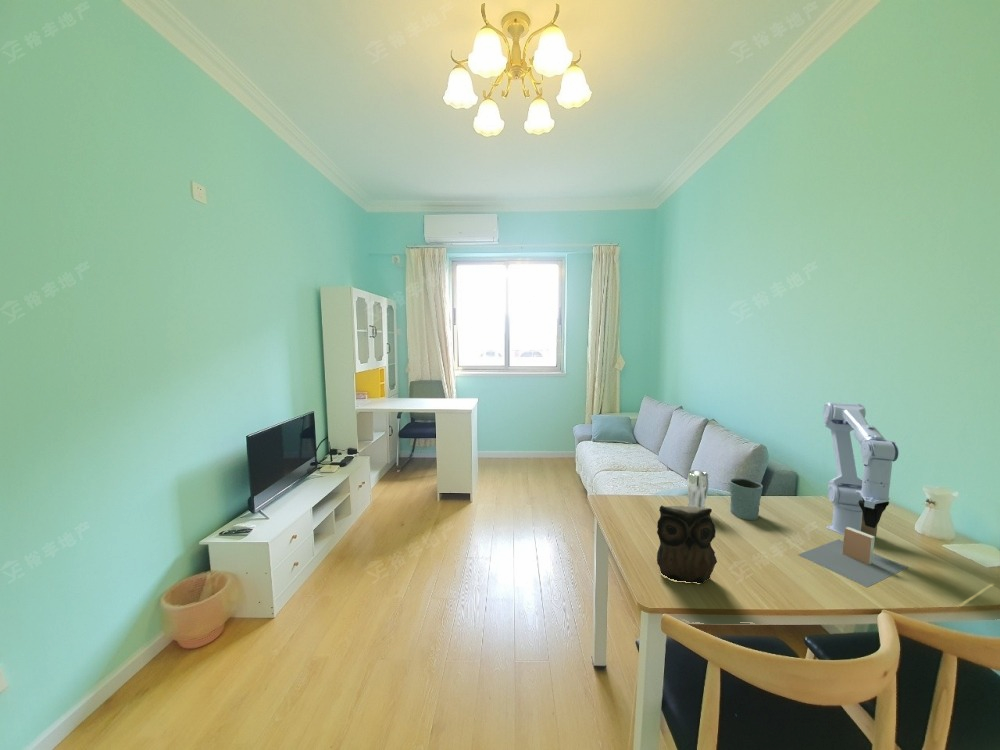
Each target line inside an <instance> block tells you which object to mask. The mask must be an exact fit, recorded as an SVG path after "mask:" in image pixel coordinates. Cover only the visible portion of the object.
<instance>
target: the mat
mask: <svg viewBox="0 0 1000 750" xmlns="http://www.w3.org/2000/svg"><path fill="white" fill-rule="evenodd" d="M843 543H844V540H843V539H842V540H841V539H839V538H838V539H837V540H832V541H829V542H828V543H824V544H823V545H820V546H817V547H815V548H812V549H809V550H807V551H806V550H805V551H804V552H801V553H798V554H797V556H799V557H801V558H804V559H806V560H808V561H810V562H812V563H814V564H816V565H818V566H821V567H823V568H825V569H826V570H829V571H830V572H831V571H832V572H834V573H835V574H838V575H840V576H842V577H845V578H846V579H848V580H850V581H853V582H855V583H857V584H859V585H861V586H862V587H865V588H869V587H871V586H873V585H875V584H877V583H879V582H881V581H883V580H886V579H888V578H889V577H892V576H893V575H895V574H898V573H901V572H902V571H904V570H905V569H906V570H907V569H908V568H909V566H906V565H904V564H901V563H899V562H896V561H894V560H892V559H890V558H886V557H884V556H881V555H879V554H876V553H874V552H873V560H872V564H869V565H868V564H865V563H863V562H861V561H858V560H856V559H854V558H851V557H849V556H847V555H844V554H842V553H843Z"/></svg>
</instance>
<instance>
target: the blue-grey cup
mask: <svg viewBox="0 0 1000 750" xmlns="http://www.w3.org/2000/svg"><path fill="white" fill-rule="evenodd" d="M763 487H764V485H763V484H761V483H760V482H758V481H755V480H751V479H746V478H739V477H738V478H737V477H736V478H731V479H730V480H729V490H730V491H729V493H730V513H731V515H733V516H735V517H737V518H739V519H743V520H747V521H754V520H758V519H759V513H760V505H761V498H762V493H763Z"/></svg>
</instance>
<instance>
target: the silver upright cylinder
mask: <svg viewBox="0 0 1000 750" xmlns="http://www.w3.org/2000/svg"><path fill="white" fill-rule="evenodd" d="M686 481H687V482H686V486H687V488H686V489H687V495H688V504H687V506H691V507H698V508H706V507H705V506H706V505H705V503H706V499H707V497H708V496H707V495H708V493H709V492H708V491H709V485H710V484H709V474H708V473H707V472H705V471H701V470H696V469H694V470H693V469H692V470H689V471H688V474H687V480H686Z"/></svg>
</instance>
